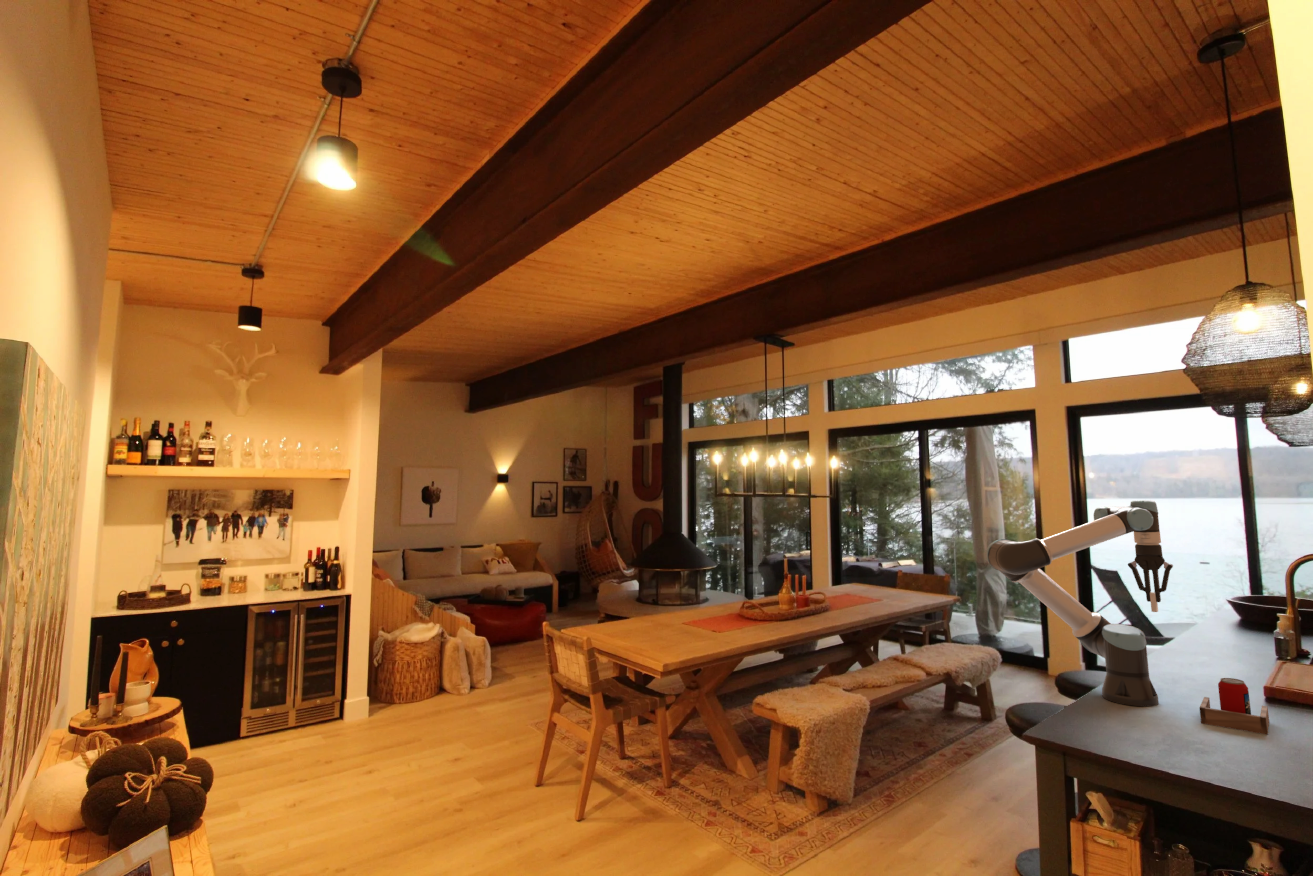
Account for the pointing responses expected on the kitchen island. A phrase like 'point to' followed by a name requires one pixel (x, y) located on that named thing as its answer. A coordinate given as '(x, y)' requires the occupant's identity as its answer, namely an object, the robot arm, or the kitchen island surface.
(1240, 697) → the beverage can
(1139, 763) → the kitchen island surface
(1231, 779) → the kitchen island surface
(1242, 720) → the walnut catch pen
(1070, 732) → the kitchen island surface
